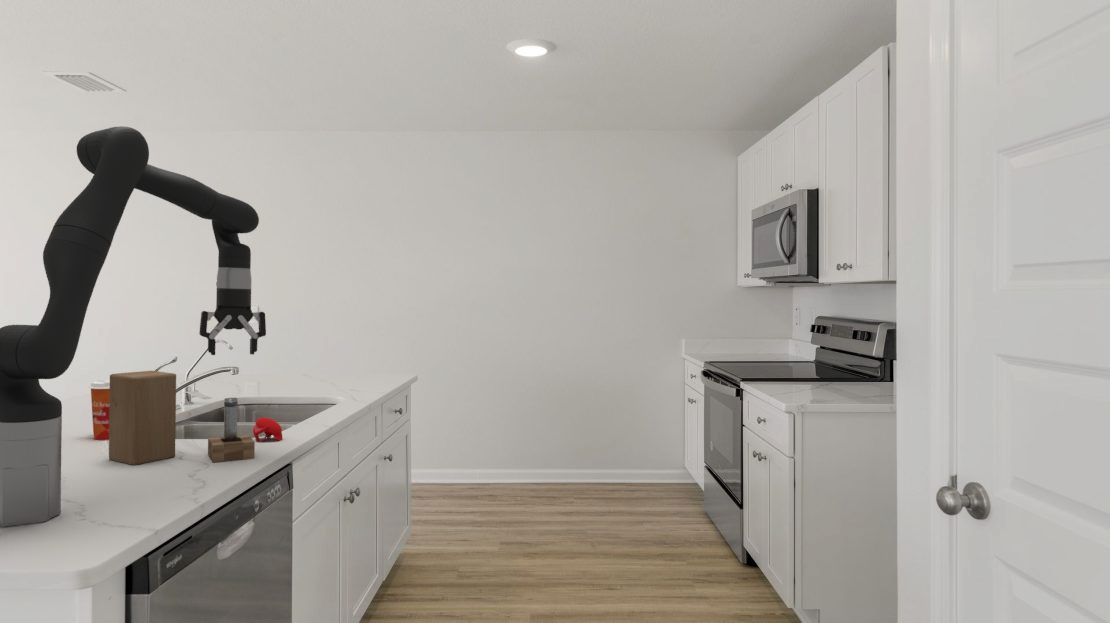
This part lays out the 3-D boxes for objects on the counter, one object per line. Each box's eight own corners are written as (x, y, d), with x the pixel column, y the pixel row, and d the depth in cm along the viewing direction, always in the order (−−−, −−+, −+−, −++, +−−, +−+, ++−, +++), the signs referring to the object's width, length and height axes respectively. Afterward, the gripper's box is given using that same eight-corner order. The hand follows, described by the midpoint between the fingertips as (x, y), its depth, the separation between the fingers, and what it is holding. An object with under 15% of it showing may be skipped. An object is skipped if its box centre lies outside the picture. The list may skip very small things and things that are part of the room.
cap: (244, 430, 176) (262, 419, 175) (254, 418, 182) (271, 408, 181) (264, 452, 179) (282, 442, 178) (273, 440, 184) (290, 430, 183)
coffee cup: (80, 439, 175) (81, 382, 175) (110, 433, 183) (110, 378, 182) (105, 442, 172) (105, 384, 172) (133, 436, 180) (134, 380, 180)
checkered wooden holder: (254, 458, 160) (254, 441, 160) (212, 462, 155) (212, 445, 155) (248, 450, 168) (248, 434, 167) (207, 454, 163) (208, 438, 162)
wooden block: (107, 459, 155) (108, 373, 155) (150, 451, 164) (151, 370, 164) (133, 465, 150) (134, 377, 150) (176, 457, 159) (177, 373, 159)
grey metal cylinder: (237, 456, 161) (238, 399, 160) (224, 458, 159) (225, 399, 159) (235, 454, 163) (236, 397, 163) (222, 455, 162) (223, 398, 161)
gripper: (202, 286, 154) (201, 356, 154) (268, 288, 161) (267, 355, 162) (199, 286, 160) (197, 354, 160) (263, 288, 168) (261, 352, 168)
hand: (232, 354), depth 161 cm, fingers open, 8 cm apart
